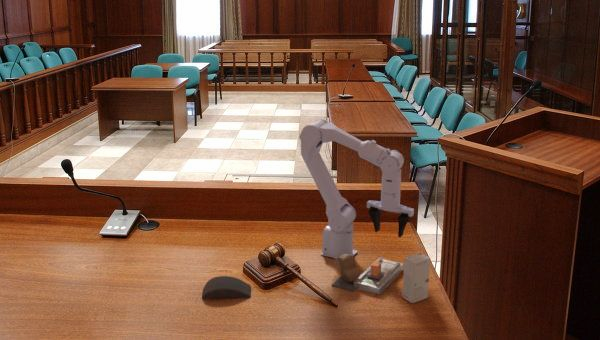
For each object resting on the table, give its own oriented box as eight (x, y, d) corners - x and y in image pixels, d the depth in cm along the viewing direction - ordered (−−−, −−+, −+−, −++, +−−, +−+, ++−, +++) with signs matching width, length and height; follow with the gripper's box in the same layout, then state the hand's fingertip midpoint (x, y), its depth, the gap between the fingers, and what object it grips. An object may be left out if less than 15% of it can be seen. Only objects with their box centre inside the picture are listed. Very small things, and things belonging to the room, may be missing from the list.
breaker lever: (366, 276, 177) (366, 264, 176) (372, 270, 180) (372, 259, 179) (379, 279, 175) (379, 268, 174) (384, 274, 178) (385, 262, 177)
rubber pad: (331, 285, 176) (331, 284, 176) (344, 274, 183) (344, 273, 183) (353, 291, 173) (353, 290, 173) (365, 280, 180) (365, 279, 179)
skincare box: (412, 303, 167) (415, 263, 163) (401, 297, 170) (403, 257, 167) (428, 297, 170) (431, 258, 166) (417, 291, 174) (420, 252, 170)
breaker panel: (353, 288, 175) (353, 279, 174) (378, 263, 190) (379, 255, 189) (379, 295, 171) (379, 286, 170) (403, 269, 186) (403, 261, 185)
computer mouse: (203, 287, 176) (202, 275, 175) (251, 286, 177) (250, 273, 176) (201, 302, 168) (200, 289, 167) (250, 300, 169) (250, 287, 168)
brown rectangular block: (343, 280, 179) (335, 258, 177) (352, 275, 180) (344, 252, 179) (350, 282, 176) (342, 259, 174) (359, 276, 177) (351, 253, 176)
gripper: (418, 191, 183) (415, 233, 187) (374, 183, 190) (372, 224, 194) (410, 198, 177) (407, 241, 182) (364, 190, 184) (363, 231, 189)
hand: (388, 233), depth 188 cm, fingers open, 7 cm apart
